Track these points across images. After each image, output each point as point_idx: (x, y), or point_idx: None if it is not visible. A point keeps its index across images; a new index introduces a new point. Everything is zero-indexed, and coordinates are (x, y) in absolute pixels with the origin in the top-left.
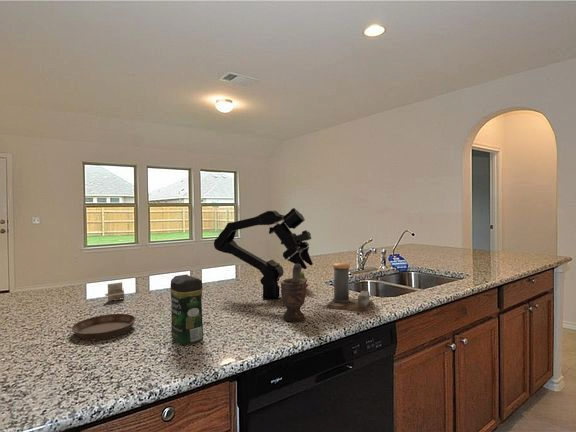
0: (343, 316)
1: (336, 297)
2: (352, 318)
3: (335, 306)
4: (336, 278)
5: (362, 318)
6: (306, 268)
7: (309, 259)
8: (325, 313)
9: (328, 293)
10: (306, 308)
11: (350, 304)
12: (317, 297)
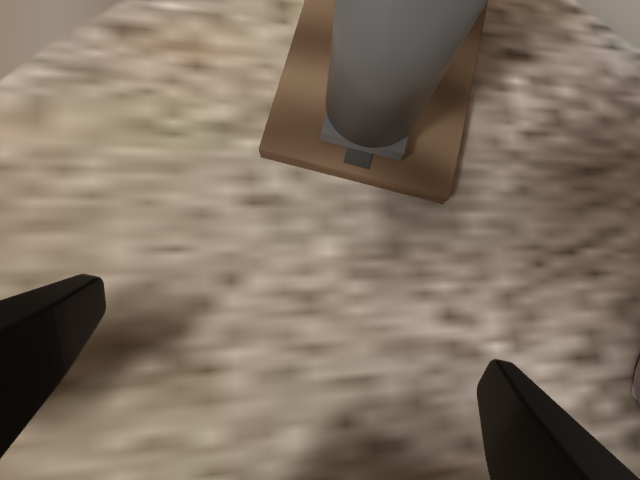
0: (578, 125)
1: (410, 128)
2: (599, 87)
3: (455, 154)
4: (466, 33)
5: (587, 44)
6: (500, 367)
7: (7, 347)
8: (550, 214)
9: (97, 195)
10: (476, 328)
11: None
12: (209, 268)
